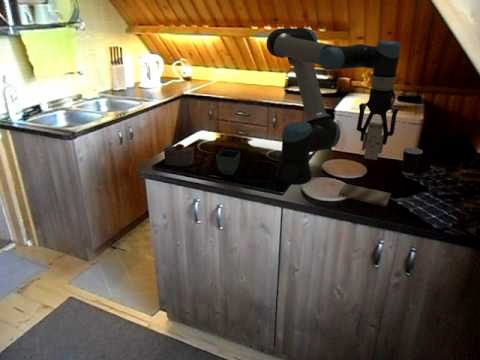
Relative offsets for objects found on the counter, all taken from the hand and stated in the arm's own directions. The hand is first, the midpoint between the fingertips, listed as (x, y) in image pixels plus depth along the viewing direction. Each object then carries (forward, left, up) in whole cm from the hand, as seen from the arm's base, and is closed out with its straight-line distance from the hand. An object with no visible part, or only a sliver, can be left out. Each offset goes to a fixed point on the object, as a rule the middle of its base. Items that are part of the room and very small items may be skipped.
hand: (371, 150), depth 143 cm
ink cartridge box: (0, 0, -2) cm, 2 cm away
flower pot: (-58, -7, -19) cm, 61 cm away
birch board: (0, 0, -19) cm, 19 cm away
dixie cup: (+12, +33, -19) cm, 40 cm away
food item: (-82, -10, -19) cm, 85 cm away
